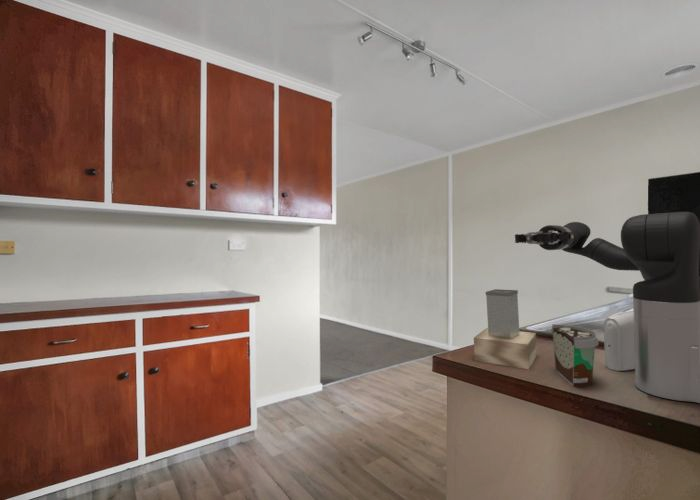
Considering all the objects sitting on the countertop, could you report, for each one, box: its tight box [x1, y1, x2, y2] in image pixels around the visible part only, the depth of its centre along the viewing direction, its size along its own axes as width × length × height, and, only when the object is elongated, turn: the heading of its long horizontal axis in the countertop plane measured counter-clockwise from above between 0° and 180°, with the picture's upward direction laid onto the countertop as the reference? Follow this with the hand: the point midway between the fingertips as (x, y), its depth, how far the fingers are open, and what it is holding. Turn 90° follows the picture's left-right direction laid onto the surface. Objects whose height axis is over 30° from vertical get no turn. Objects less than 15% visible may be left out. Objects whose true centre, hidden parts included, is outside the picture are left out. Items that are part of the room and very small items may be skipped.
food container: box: [551, 324, 600, 388], centre depth 72 cm, size 12×6×10 cm, turn 168°
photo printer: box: [603, 311, 635, 372], centre depth 78 cm, size 10×4×12 cm, turn 105°
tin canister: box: [485, 288, 520, 339], centre depth 86 cm, size 6×6×11 cm
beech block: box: [473, 327, 538, 370], centre depth 86 cm, size 12×12×6 cm
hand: (532, 237), depth 96 cm, fingers open, 8 cm apart
